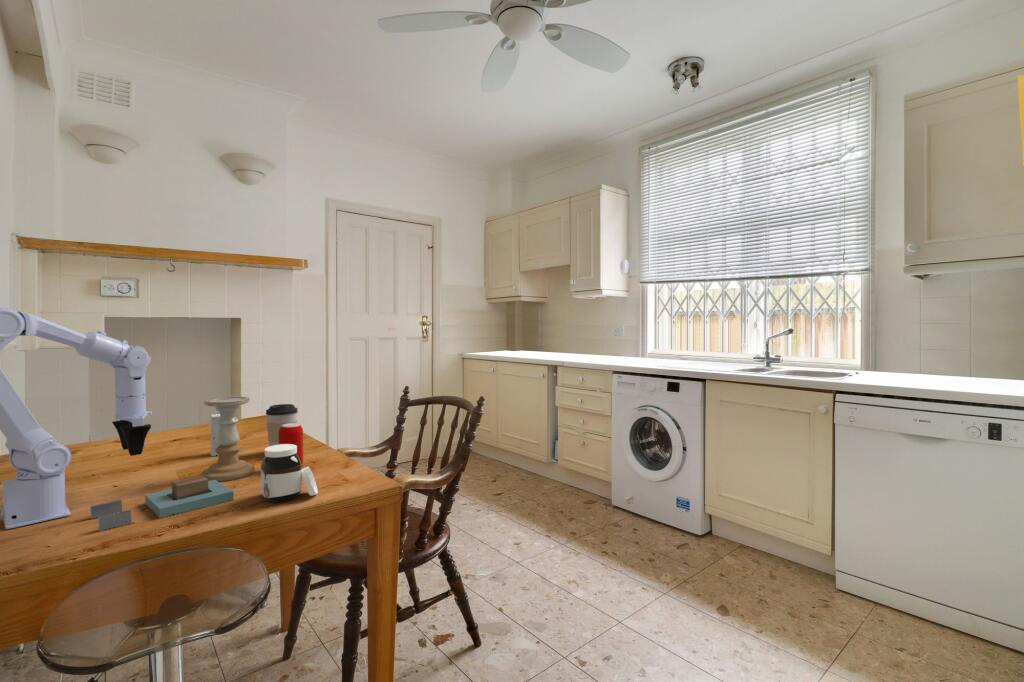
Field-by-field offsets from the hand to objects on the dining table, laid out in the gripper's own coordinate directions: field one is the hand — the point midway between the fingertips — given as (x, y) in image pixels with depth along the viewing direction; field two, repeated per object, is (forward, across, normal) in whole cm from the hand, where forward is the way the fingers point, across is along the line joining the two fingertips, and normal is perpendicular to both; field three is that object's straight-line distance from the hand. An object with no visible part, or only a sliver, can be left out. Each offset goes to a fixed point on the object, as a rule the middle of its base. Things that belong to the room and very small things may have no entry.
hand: (132, 451), depth 116 cm
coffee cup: (+10, +8, -39) cm, 41 cm away
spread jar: (+10, -31, -24) cm, 41 cm away
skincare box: (+10, +20, -26) cm, 34 cm away
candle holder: (+10, -3, -20) cm, 22 cm away
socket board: (+9, -18, -7) cm, 22 cm away
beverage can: (+10, -9, -34) cm, 36 cm away
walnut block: (+10, -18, -7) cm, 22 cm away
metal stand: (+9, -18, +7) cm, 22 cm away
